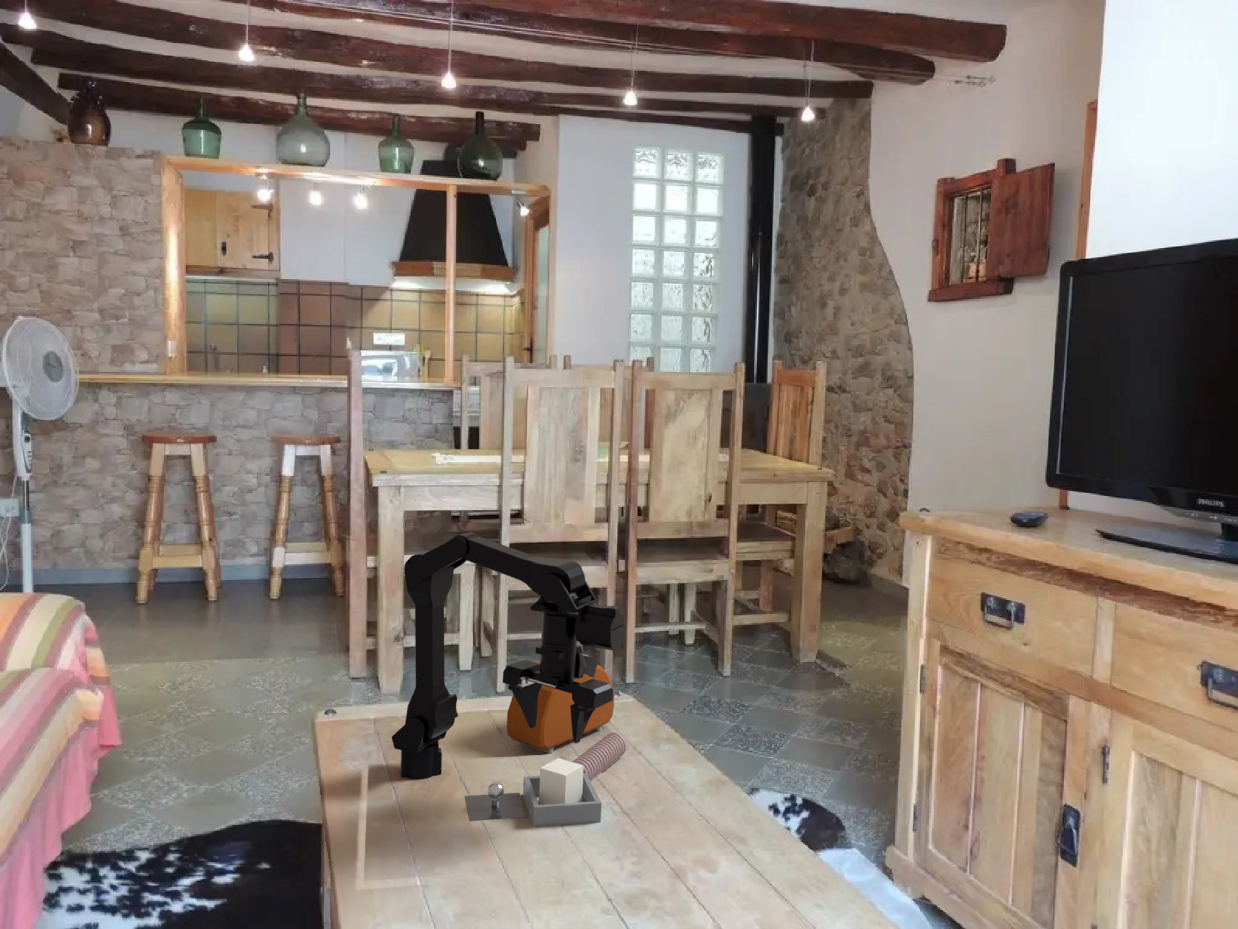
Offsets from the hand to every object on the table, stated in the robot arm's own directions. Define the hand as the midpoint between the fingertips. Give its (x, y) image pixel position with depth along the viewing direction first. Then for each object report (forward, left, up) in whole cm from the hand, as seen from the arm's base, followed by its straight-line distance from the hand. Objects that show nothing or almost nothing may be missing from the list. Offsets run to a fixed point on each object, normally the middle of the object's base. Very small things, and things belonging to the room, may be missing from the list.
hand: (554, 735), depth 153 cm
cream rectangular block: (+1, -1, -12) cm, 12 cm away
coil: (+11, +15, -13) cm, 22 cm away
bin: (+1, -1, -13) cm, 13 cm away
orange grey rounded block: (+8, +32, -13) cm, 35 cm away
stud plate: (-9, +1, -13) cm, 16 cm away
